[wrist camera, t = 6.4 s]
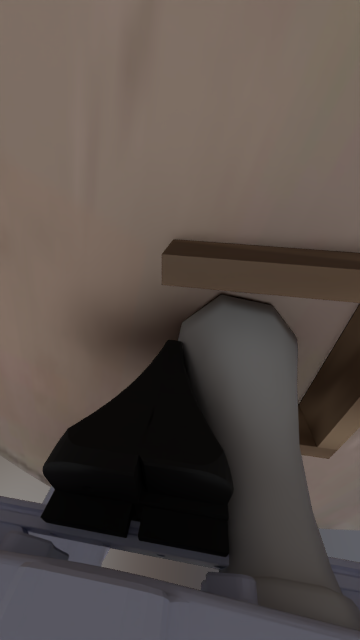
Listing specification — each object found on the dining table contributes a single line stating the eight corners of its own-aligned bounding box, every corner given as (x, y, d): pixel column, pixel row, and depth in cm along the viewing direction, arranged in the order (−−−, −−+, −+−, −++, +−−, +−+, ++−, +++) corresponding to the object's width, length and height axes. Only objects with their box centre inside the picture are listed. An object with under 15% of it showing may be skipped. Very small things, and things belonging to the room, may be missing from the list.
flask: (216, 270, 10) (282, 617, 2) (319, 332, 12) (628, 694, 3) (157, 356, 14) (87, 603, 5) (240, 395, 15) (287, 642, 7)
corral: (309, 416, 16) (328, 458, 13) (169, 397, 16) (162, 434, 14) (418, 257, 9) (501, 281, 6) (173, 239, 10) (161, 254, 7)
